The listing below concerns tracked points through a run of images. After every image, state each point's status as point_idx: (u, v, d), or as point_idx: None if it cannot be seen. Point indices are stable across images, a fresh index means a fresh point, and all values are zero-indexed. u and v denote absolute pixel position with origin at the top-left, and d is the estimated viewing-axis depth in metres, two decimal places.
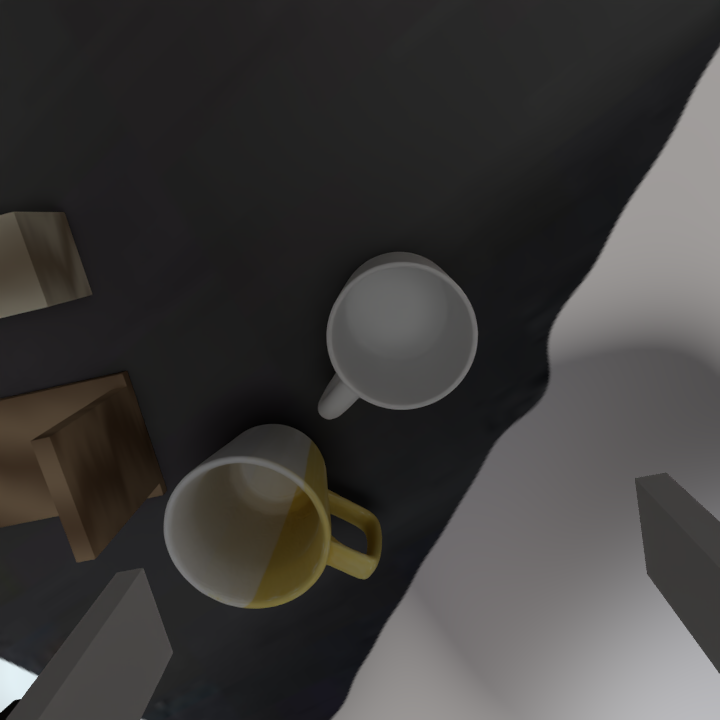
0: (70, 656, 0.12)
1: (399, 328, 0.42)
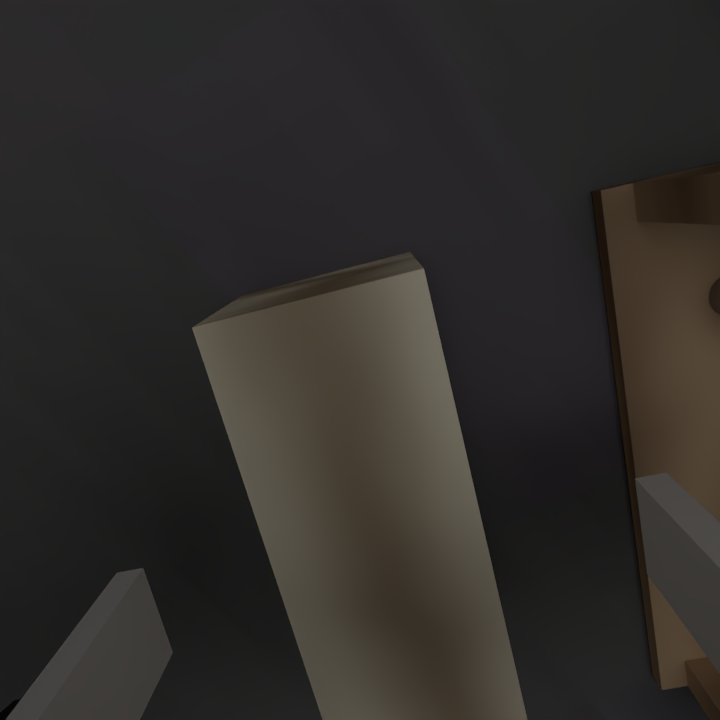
0: (70, 656, 0.12)
1: None
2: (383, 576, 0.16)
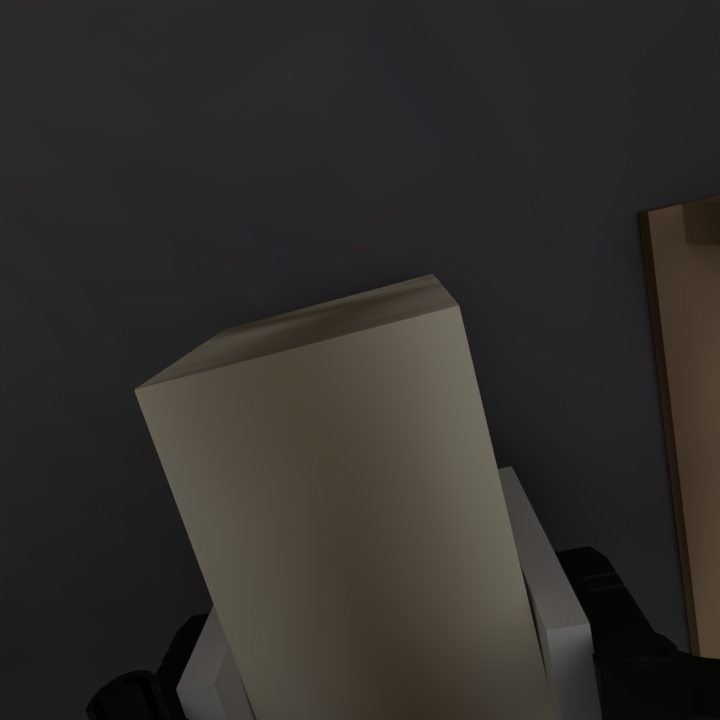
0: None
1: None
2: None
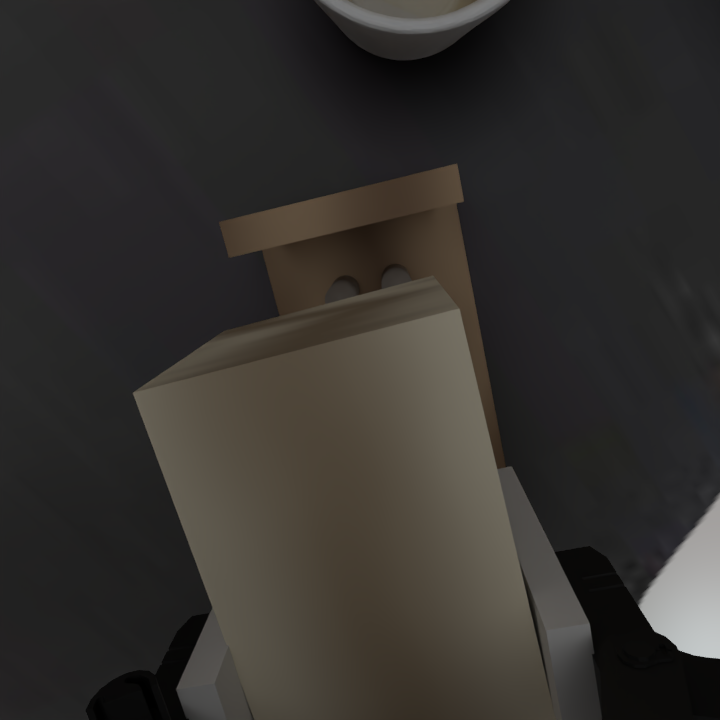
0: None
1: None
2: None
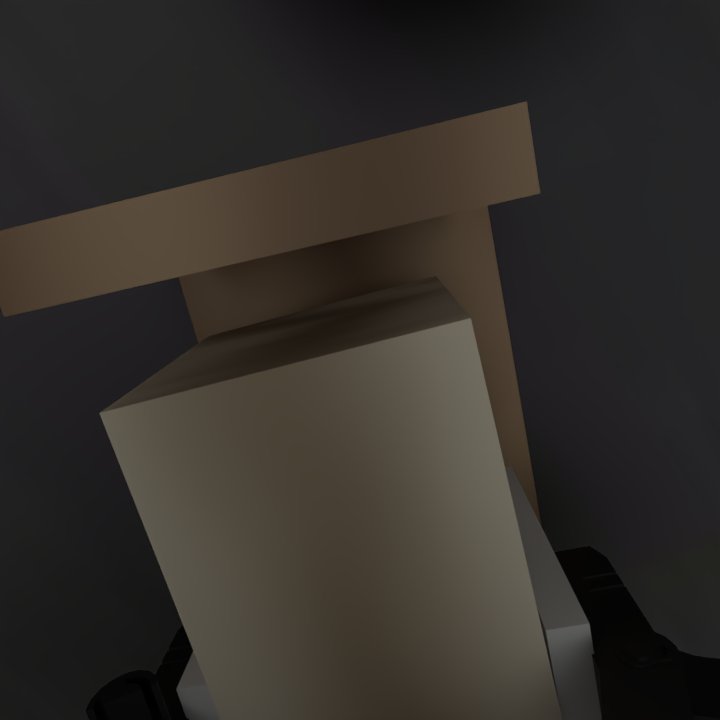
0: None
1: None
2: None
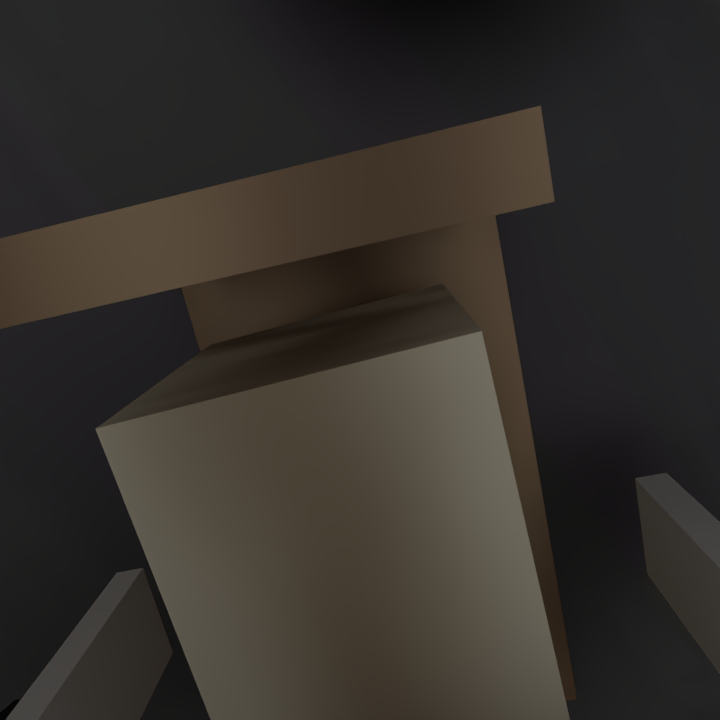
0: (70, 656, 0.12)
1: None
2: None
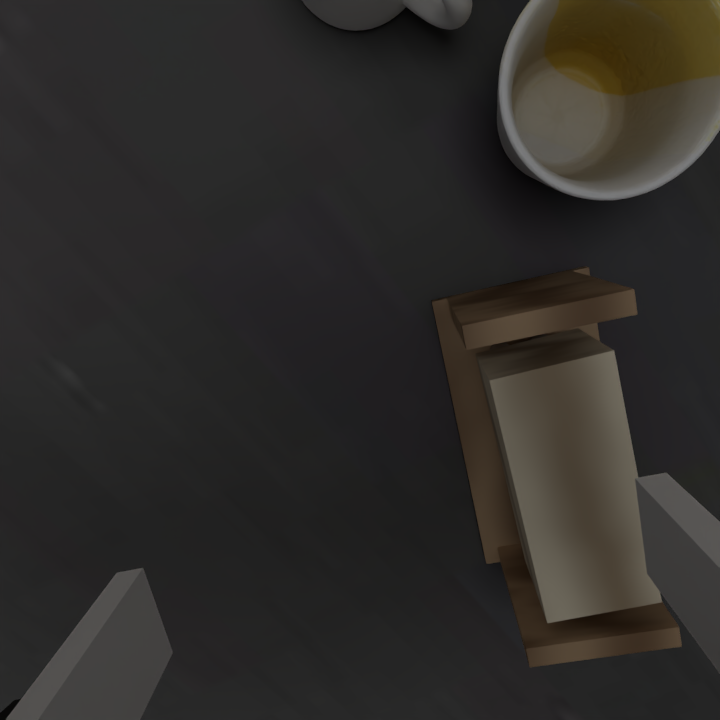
0: (70, 656, 0.12)
1: None
2: (582, 514, 0.30)
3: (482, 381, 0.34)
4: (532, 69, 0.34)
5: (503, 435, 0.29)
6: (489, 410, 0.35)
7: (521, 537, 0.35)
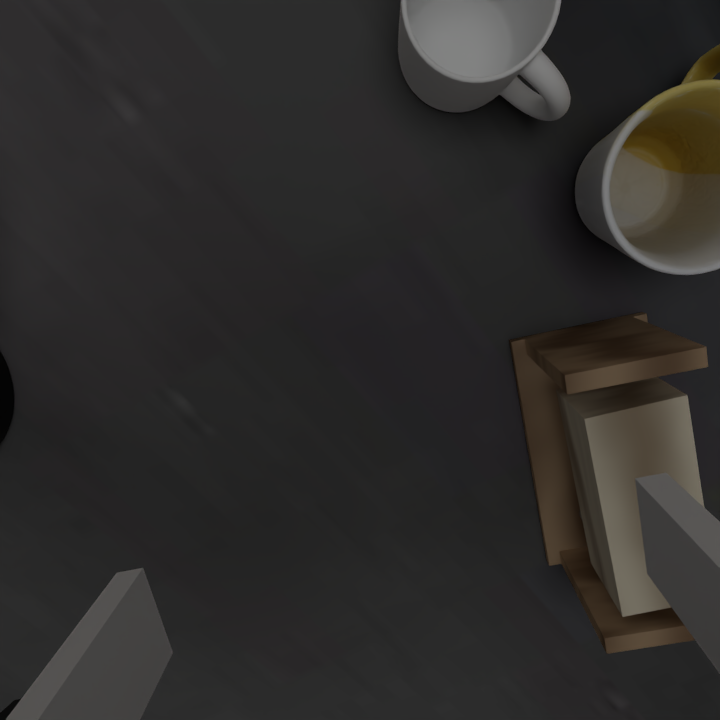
0: (70, 656, 0.12)
1: (478, 47, 0.40)
2: None
3: (562, 413, 0.40)
4: None
5: (593, 463, 0.35)
6: (567, 437, 0.41)
7: (593, 544, 0.41)
